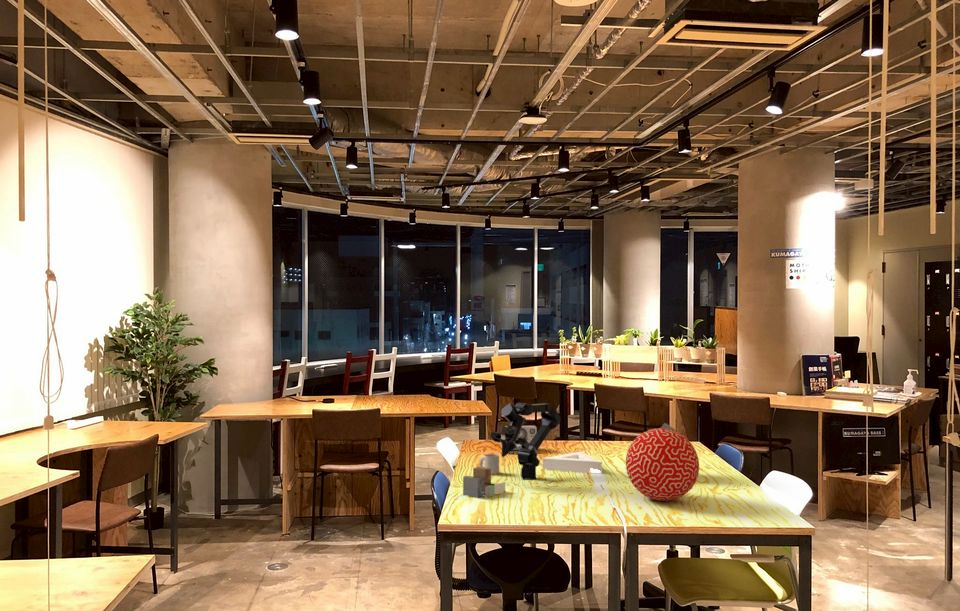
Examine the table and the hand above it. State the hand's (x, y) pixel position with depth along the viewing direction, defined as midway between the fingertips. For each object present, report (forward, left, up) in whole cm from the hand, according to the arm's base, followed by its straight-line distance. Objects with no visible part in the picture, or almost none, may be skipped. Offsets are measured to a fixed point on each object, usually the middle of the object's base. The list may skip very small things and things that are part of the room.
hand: (502, 456), depth 328 cm
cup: (+6, -26, -13) cm, 30 cm away
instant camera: (-13, -87, -14) cm, 89 cm away
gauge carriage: (+8, +16, -11) cm, 21 cm away
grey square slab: (+14, +20, -13) cm, 28 cm away
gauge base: (+8, +14, -13) cm, 21 cm away
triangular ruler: (-40, -42, -14) cm, 60 cm away
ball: (-66, +27, -13) cm, 73 cm away
